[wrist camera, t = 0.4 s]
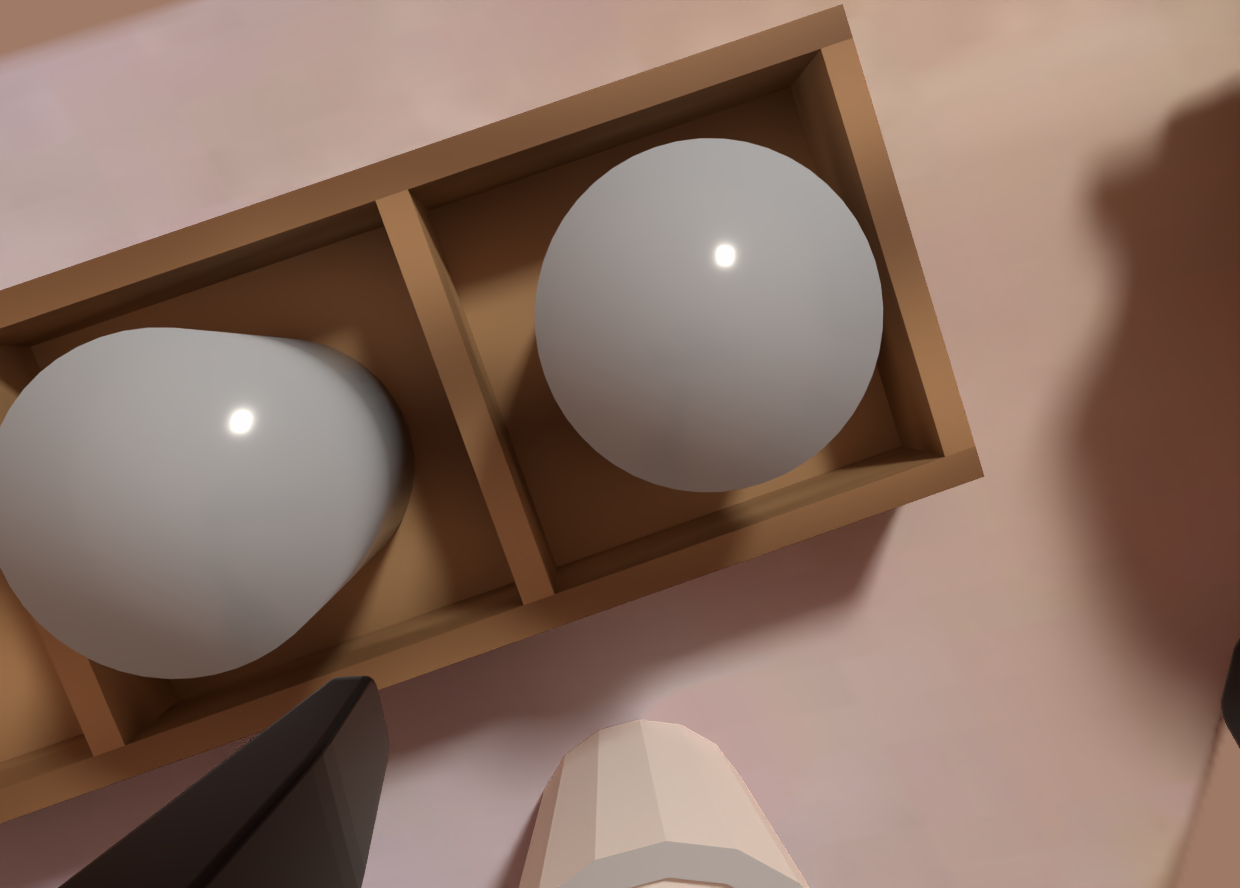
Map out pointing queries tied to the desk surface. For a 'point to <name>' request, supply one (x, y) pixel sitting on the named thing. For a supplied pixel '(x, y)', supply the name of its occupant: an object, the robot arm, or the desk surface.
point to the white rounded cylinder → (195, 494)
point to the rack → (477, 398)
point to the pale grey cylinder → (708, 315)
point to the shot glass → (653, 818)
